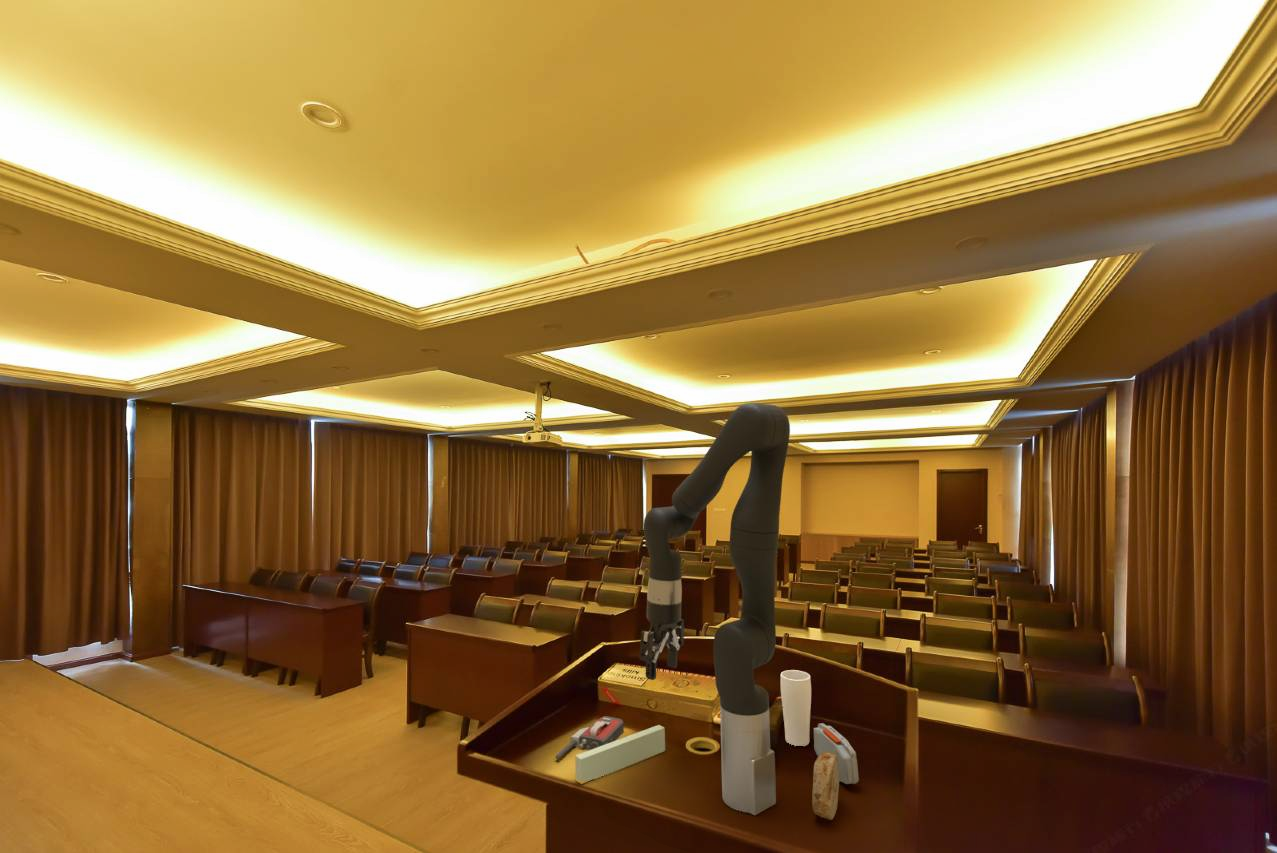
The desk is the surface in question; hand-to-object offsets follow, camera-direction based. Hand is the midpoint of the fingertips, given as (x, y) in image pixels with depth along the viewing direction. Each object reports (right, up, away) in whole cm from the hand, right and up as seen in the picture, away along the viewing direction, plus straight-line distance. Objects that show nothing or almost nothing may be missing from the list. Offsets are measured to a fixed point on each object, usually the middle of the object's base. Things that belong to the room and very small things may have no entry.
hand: (661, 672), depth 127 cm
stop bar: (-8, -18, -4) cm, 20 cm away
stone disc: (+29, -17, -21) cm, 40 cm away
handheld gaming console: (+35, -18, -8) cm, 40 cm away
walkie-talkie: (-16, -20, +6) cm, 26 cm away
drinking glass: (+31, -18, +5) cm, 37 cm away
